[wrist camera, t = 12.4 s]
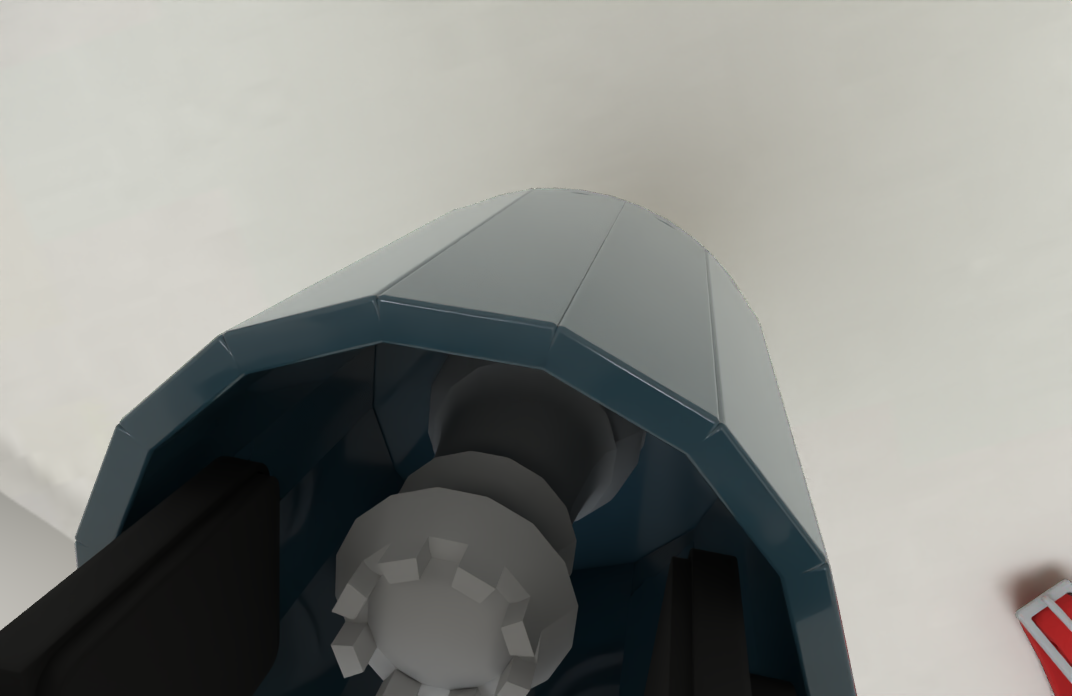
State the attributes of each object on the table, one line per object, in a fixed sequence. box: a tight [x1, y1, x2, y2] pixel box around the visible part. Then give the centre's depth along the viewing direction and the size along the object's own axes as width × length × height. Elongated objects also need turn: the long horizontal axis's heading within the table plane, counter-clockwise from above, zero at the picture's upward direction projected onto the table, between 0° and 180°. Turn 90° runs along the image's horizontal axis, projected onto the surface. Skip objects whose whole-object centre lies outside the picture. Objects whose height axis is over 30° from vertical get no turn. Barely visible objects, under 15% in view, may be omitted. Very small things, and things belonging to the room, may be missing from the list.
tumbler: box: [75, 188, 857, 696], centre depth 13 cm, size 9×9×9 cm
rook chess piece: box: [331, 354, 646, 696], centre depth 13 cm, size 4×4×8 cm
